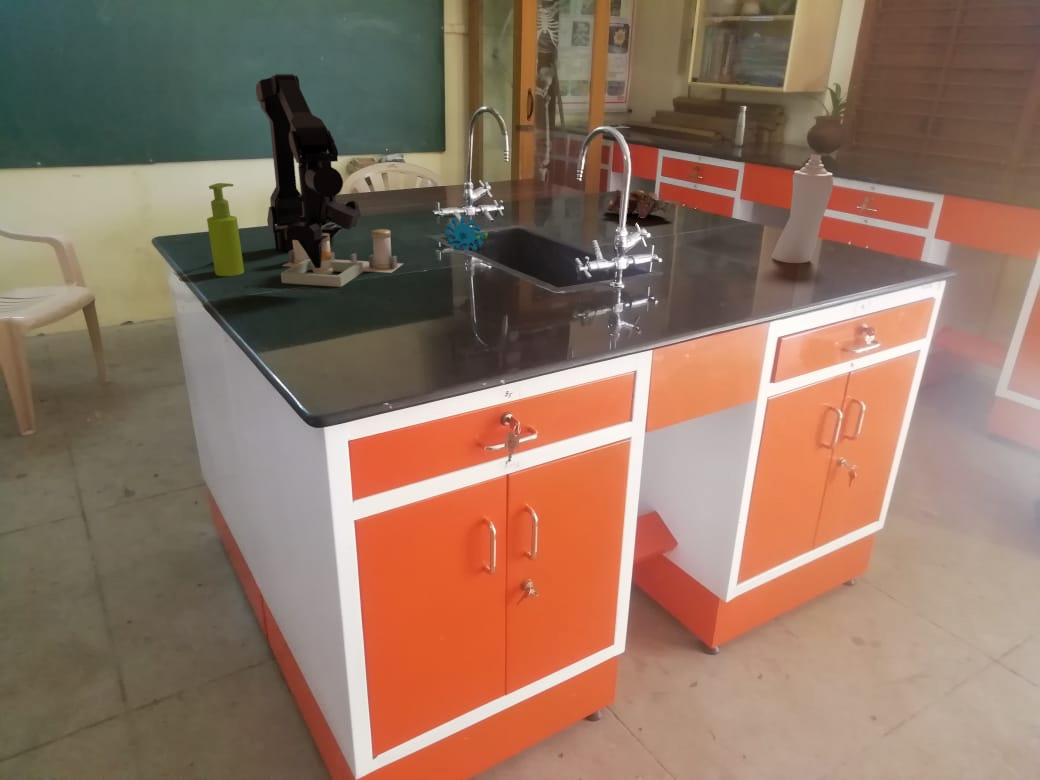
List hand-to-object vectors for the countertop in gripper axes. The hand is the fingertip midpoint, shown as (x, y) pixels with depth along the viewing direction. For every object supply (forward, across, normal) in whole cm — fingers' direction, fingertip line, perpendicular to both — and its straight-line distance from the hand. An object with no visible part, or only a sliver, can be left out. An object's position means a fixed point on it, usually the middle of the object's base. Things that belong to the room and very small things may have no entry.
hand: (322, 265), depth 162 cm
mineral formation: (+4, +90, -63) cm, 110 cm away
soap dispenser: (+4, -1, +21) cm, 21 cm away
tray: (+4, 0, 0) cm, 4 cm away
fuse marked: (+2, 0, 0) cm, 2 cm away
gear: (+4, +37, -22) cm, 43 cm away
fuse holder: (+4, +10, 0) cm, 11 cm away
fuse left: (+2, +10, +10) cm, 14 cm away
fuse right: (+2, +10, -10) cm, 14 cm away
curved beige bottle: (+4, +44, -102) cm, 111 cm away
